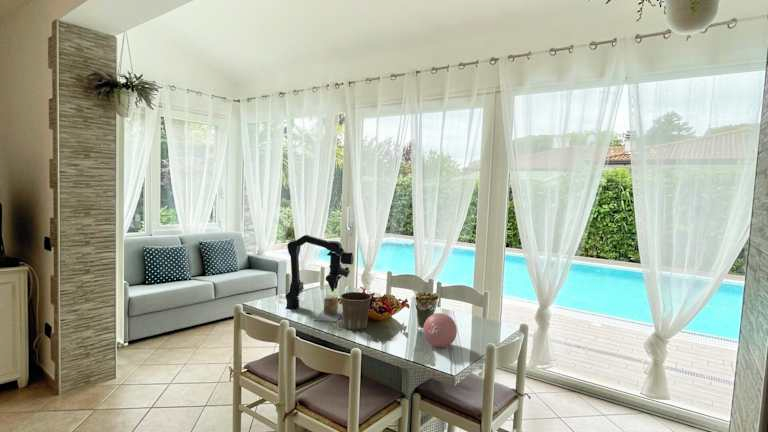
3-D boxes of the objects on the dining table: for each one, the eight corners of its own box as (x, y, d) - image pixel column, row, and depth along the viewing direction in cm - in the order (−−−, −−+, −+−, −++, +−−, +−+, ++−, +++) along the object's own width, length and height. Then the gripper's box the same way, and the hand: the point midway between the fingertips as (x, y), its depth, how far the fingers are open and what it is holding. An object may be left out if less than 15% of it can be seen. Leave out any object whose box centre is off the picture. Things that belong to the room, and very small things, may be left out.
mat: (314, 320, 217) (314, 319, 217) (322, 311, 235) (322, 310, 235) (336, 322, 216) (336, 321, 216) (342, 312, 234) (342, 311, 234)
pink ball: (413, 351, 180) (414, 317, 180) (429, 338, 198) (430, 307, 197) (446, 359, 173) (448, 324, 173) (460, 344, 191) (461, 312, 190)
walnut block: (323, 314, 228) (324, 298, 227) (325, 312, 232) (326, 296, 231) (335, 315, 227) (336, 299, 227) (337, 312, 231) (338, 297, 231)
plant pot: (366, 333, 201) (367, 301, 201) (335, 329, 205) (336, 298, 204) (373, 323, 217) (374, 293, 216) (344, 320, 221) (345, 291, 220)
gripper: (345, 267, 225) (344, 294, 226) (351, 261, 243) (350, 287, 244) (325, 265, 226) (324, 293, 227) (333, 260, 244) (332, 286, 245)
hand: (334, 290), depth 236 cm, fingers open, 7 cm apart
